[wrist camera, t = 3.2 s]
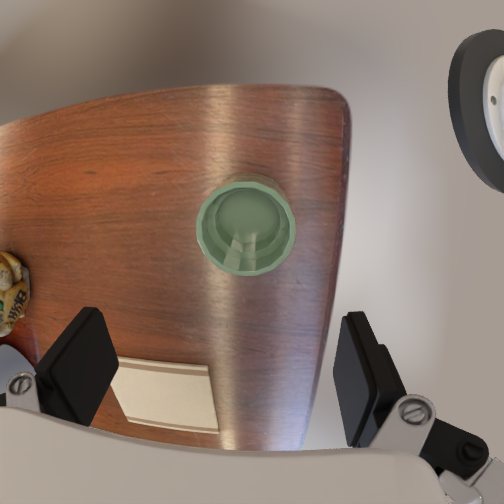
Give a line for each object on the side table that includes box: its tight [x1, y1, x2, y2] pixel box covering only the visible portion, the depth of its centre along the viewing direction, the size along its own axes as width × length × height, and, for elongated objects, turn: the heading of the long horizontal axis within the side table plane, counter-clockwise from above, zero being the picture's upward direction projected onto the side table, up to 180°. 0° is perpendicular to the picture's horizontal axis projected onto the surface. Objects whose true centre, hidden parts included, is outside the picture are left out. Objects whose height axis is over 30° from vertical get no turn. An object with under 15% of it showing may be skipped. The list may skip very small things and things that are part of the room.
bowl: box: [196, 173, 296, 276], centre depth 23 cm, size 7×7×4 cm
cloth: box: [111, 356, 219, 434], centre depth 35 cm, size 14×14×1 cm
